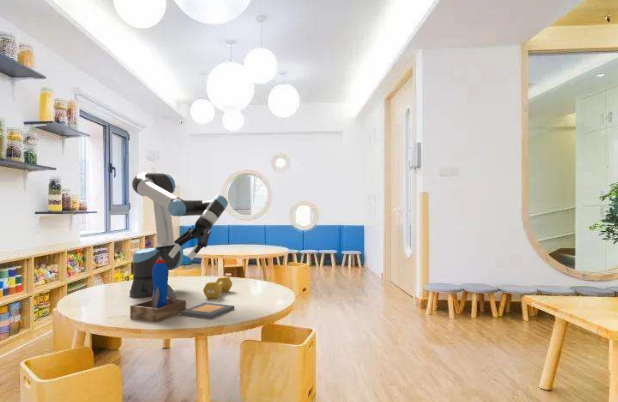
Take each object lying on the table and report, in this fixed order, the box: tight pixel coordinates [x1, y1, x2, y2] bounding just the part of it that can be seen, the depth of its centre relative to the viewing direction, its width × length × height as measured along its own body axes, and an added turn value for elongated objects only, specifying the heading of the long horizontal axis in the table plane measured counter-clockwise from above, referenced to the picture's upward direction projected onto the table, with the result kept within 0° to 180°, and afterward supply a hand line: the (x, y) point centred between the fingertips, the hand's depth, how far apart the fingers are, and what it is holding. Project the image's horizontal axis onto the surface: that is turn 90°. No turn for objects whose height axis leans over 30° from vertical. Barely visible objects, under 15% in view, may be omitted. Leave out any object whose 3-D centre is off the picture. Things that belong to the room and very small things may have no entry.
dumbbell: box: [202, 275, 233, 300], centre depth 200 cm, size 19×9×8 cm, turn 170°
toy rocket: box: [151, 256, 177, 308], centre depth 165 cm, size 11×10×25 cm
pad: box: [179, 302, 235, 320], centre depth 168 cm, size 16×16×2 cm
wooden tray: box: [129, 297, 187, 323], centre depth 165 cm, size 15×16×5 cm
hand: (180, 257), depth 174 cm, fingers open, 13 cm apart
